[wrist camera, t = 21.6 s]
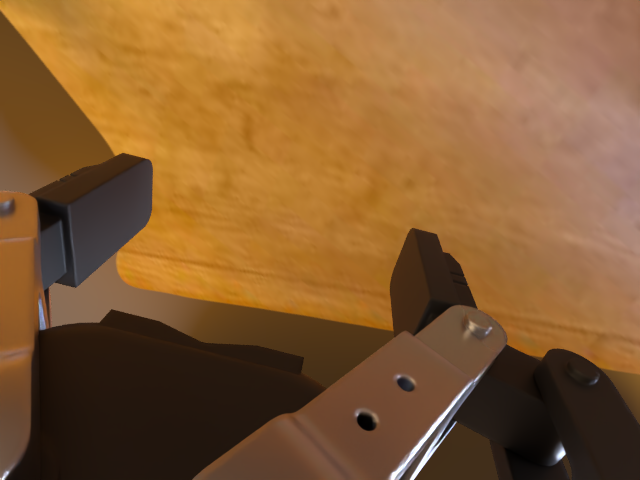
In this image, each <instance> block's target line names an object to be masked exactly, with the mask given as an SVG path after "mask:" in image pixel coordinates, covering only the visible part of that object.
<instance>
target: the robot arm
mask: <svg viewBox="0 0 640 480" xmlns="http://www.w3.org/2000/svg"><path fill="white" fill-rule="evenodd" d="M152 178H153V168H152V163H151V161H150V160H149V159H145V158H141V157H137V156H133V155H129V154H125V153H121V154H119V155H117V156H115V157H113V158H111V159H109V160H108V161H106V162H103V163H102V164H99V165H94V166H89V167H84V168H82V169H79V170H77V171H75V172H73V173H71V174H70V176H69V175H67V176H65V177H63V178H61V179H60V181H55V182H53V183H51V184H49V185H47V186H45V187H43V188H40V189H38V190H37V191H34V192H33V193H30V194H25V193H21V192H15V191H0V480H414V478H415V477H416V476H417V474H418V473H419V471H420V470H421V469H422V467H423V466H424V464H425V463H426V462H427V461H428V459H429V458H430V457H431V455H432V454H433V453H434V451H435V450H436V449H437V447H438V446H439V445H440V443H441V442H442V441H443V439H444V438H445V437H446V435H447V434H448V433H449V431H450V430H451V428H452V427H453V426H454V425H455V423H456V422H458V423H460V424H462V425H464V426H466V427H468V428H469V429H471V430H473V431H475V432H477V433H479V434H481V435H482V436H484V437H486V438H488V439H489V440H490V445H491V449H492V453H493V457H494V461H495V465H496V469H497V474H498V478H499V480H570V479H569V476H568V474H567V471H566V469H565V466H564V464H563V461H562V459H561V458H562V457H563V456H564V455H565V454H566V455H567V458H568V460H569V463H570V466H571V470H572V480H640V425H639V423H638V422H637V420H636V419H635V417H634V416H633V414H632V412H631V411H630V409H629V408H628V406H627V405H626V403H625V402H624V400H623V398H622V397H621V395H620V394H619V392H618V391H617V389H616V387H615V386H614V384H613V383H612V381H611V380H610V379H609V378H608V376H607V375H606V374H605V373H604V372H603V371H602V370H601V369H599V368H598V367H597V366H596V365H594V364H593V363H592V362H590V361H589V360H587V359H585V358H584V357H582V356H580V355H578V354H576V353H573V352H571V351H568V350H564V349H551V350H549V351H548V352H547V353H546V355H545V356H544V357H543V359H542V360H541V361H539V360H537V359H535V358H533V357H531V356H529V355H527V354H524V353H522V352H520V351H518V350H516V349H514V348H512V347H510V346H508V345H507V344H506V343H507V335H506V332H505V331H504V329H503V328H502V327H501V325H500V324H499V323H498V322H497V321H496V320H494V319H493V318H492V317H490V316H489V315H488V314H486V313H484V312H482V311H480V310H478V309H477V306H476V304H475V301H474V299H473V296H472V294H471V291H470V289H469V286H467V285H468V284H467V281H466V279H465V277H464V274H463V271H462V269H461V266H460V264H459V263H458V262H457V261H456V260H455V259H454V258H453V257H452V256H451V255H450V254H449V253H445V252H443V251H442V248H441V245H440V242H439V239H438V236H437V234H434V233H430V232H426V231H422V230H418V229H415V228H412V229H411V230H410V231H409V233H408V235H407V237H406V240H405V242H404V245H403V248H402V250H401V253H400V255H399V258H398V260H397V263H396V265H395V268H394V271H393V274H392V277H391V282H390V296H391V307H392V318H393V329H394V339H393V340H391V341H390V342H388V343H387V344H386V345H384V346H383V347H382V348H380V349H379V350H378V351H376V352H375V353H374V354H372V355H371V356H370V357H368V358H367V359H366V360H364V361H363V362H362V363H361V364H359V365H358V366H357V367H356V368H354V369H353V370H351V371H350V372H349V373H347V374H346V375H345V376H343V377H342V378H341V379H339V380H338V381H337V382H336V383H334V384H333V385H332V386H330V387H329V388H328V389H326V388H325V387H324V386H322V385H321V384H320V383H319V382H317V381H315V380H314V379H312V378H311V377H309V376H307V375H305V374H303V373H301V370H302V365H303V359H304V358H303V357H300V356H296V355H292V354H288V353H284V352H280V351H276V350H272V349H268V348H264V347H260V346H253V345H233V344H213V343H212V344H211V343H204V342H200V341H198V340H196V339H194V338H192V337H190V336H188V335H186V334H184V333H182V332H180V331H178V330H176V329H174V328H172V327H170V326H168V325H166V324H163V323H162V322H160V321H156V320H152V319H148V318H144V317H140V316H136V315H132V314H128V313H124V312H120V311H116V310H111V311H110V312H109V313H108V314H107V315H106V316H105V317H104V318H103V319H102V320H101V322H100V323H76V324H67V325H62V326H56V327H52V317H51V296H50V289H49V286H51V285H52V284H53V283H54V282H55V283H59V284H63V285H67V286H71V287H75V288H76V287H77V286H79V285H80V284H81V283H82V282H83V281H84V280H85V279H86V278H88V277H89V276H90V275H91V274H92V273H93V272H94V271H95V270H96V269H98V268H99V267H100V266H101V265H102V264H103V263H104V262H106V260H108V259H109V258H110V257H111V256H112V255H113V254H115V253H116V252H117V251H118V250H119V249H120V248H121V247H122V246H124V245H125V244H126V243H127V242H128V241H129V240H130V239H131V238H133V237H134V236H135V235H136V234H137V233H138V232H139V231H140V230H142V229H143V228H144V227H145V226H146V224H147V223H148V221H149V218H150V216H151V211H152Z"/></svg>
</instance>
